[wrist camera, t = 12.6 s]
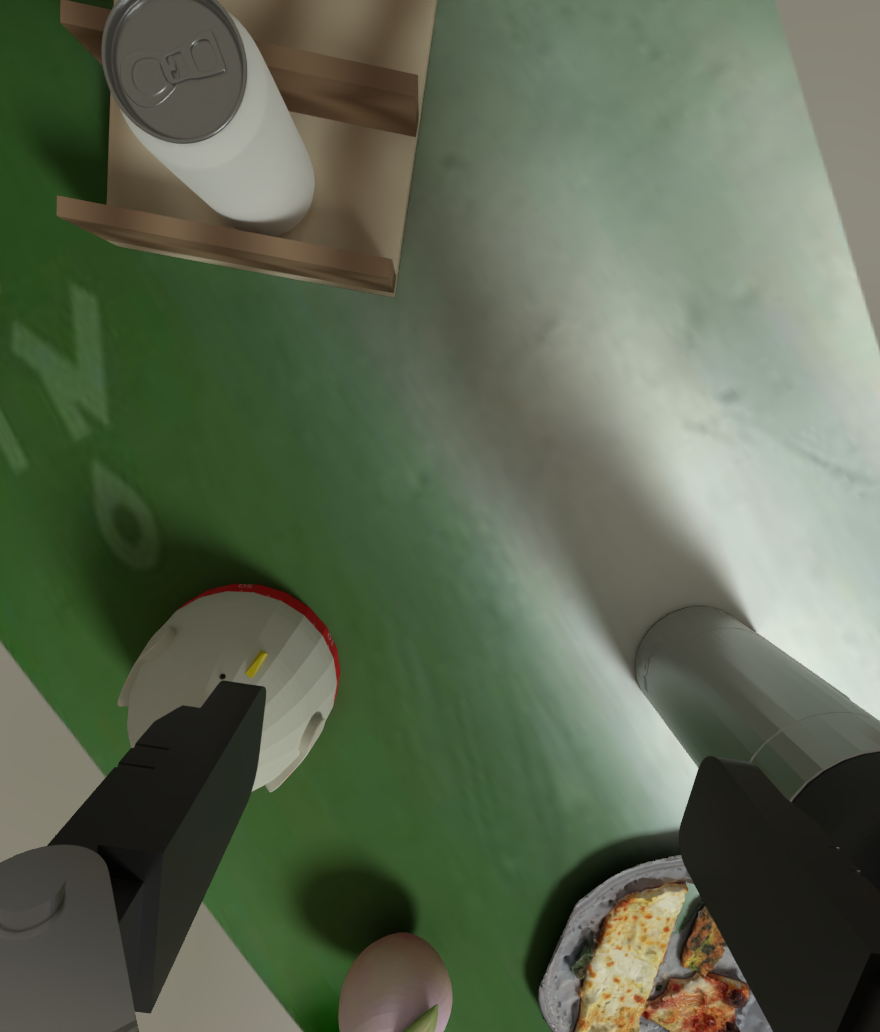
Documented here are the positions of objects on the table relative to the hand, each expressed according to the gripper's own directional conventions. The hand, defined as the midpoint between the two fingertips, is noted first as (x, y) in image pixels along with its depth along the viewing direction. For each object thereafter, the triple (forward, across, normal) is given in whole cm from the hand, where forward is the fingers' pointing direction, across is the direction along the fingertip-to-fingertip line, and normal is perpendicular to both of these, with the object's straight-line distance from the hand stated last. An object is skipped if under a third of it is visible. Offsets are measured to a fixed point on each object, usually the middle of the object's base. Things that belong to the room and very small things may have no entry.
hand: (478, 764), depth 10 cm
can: (+28, +14, -17) cm, 36 cm away
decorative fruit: (+30, -3, +40) cm, 50 cm away
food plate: (+31, -28, +39) cm, 57 cm away
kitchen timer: (+30, +12, +16) cm, 36 cm away
